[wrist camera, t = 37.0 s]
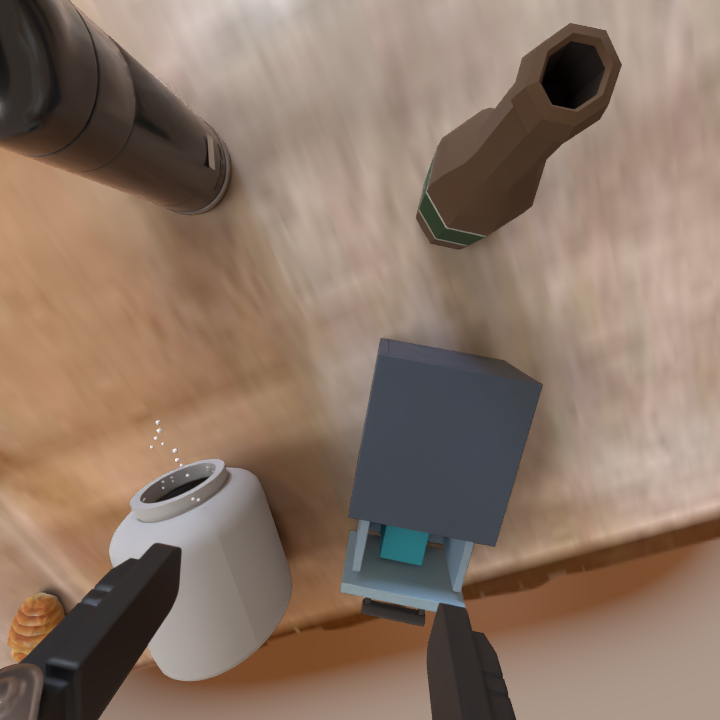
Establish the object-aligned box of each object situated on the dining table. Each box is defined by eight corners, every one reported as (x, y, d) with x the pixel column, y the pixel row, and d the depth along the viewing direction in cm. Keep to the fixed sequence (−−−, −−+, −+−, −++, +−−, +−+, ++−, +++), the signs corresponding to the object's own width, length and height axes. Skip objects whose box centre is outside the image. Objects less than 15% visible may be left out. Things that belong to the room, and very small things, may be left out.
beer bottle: (495, 243, 36) (692, 166, 13) (420, 257, 37) (476, 208, 14) (487, 162, 35) (694, -90, 11) (409, 179, 36) (452, -26, 12)
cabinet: (470, 488, 42) (495, 547, 32) (356, 465, 43) (348, 517, 33) (504, 360, 39) (543, 384, 29) (380, 337, 39) (378, 354, 30)
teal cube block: (380, 528, 42) (379, 557, 37) (387, 495, 41) (387, 520, 36) (417, 536, 42) (421, 566, 37) (425, 503, 41) (430, 529, 36)
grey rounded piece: (133, 606, 43) (53, 428, 35) (242, 532, 53) (201, 378, 45) (191, 748, 30) (88, 519, 22) (323, 616, 40) (285, 421, 32)
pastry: (27, 582, 50) (-2, 606, 46) (72, 594, 50) (47, 619, 46) (25, 634, 52) (-3, 661, 48) (68, 645, 52) (44, 673, 48)
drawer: (440, 591, 44) (452, 656, 36) (342, 571, 45) (332, 630, 37) (478, 450, 40) (499, 489, 32) (368, 429, 41) (364, 462, 33)
